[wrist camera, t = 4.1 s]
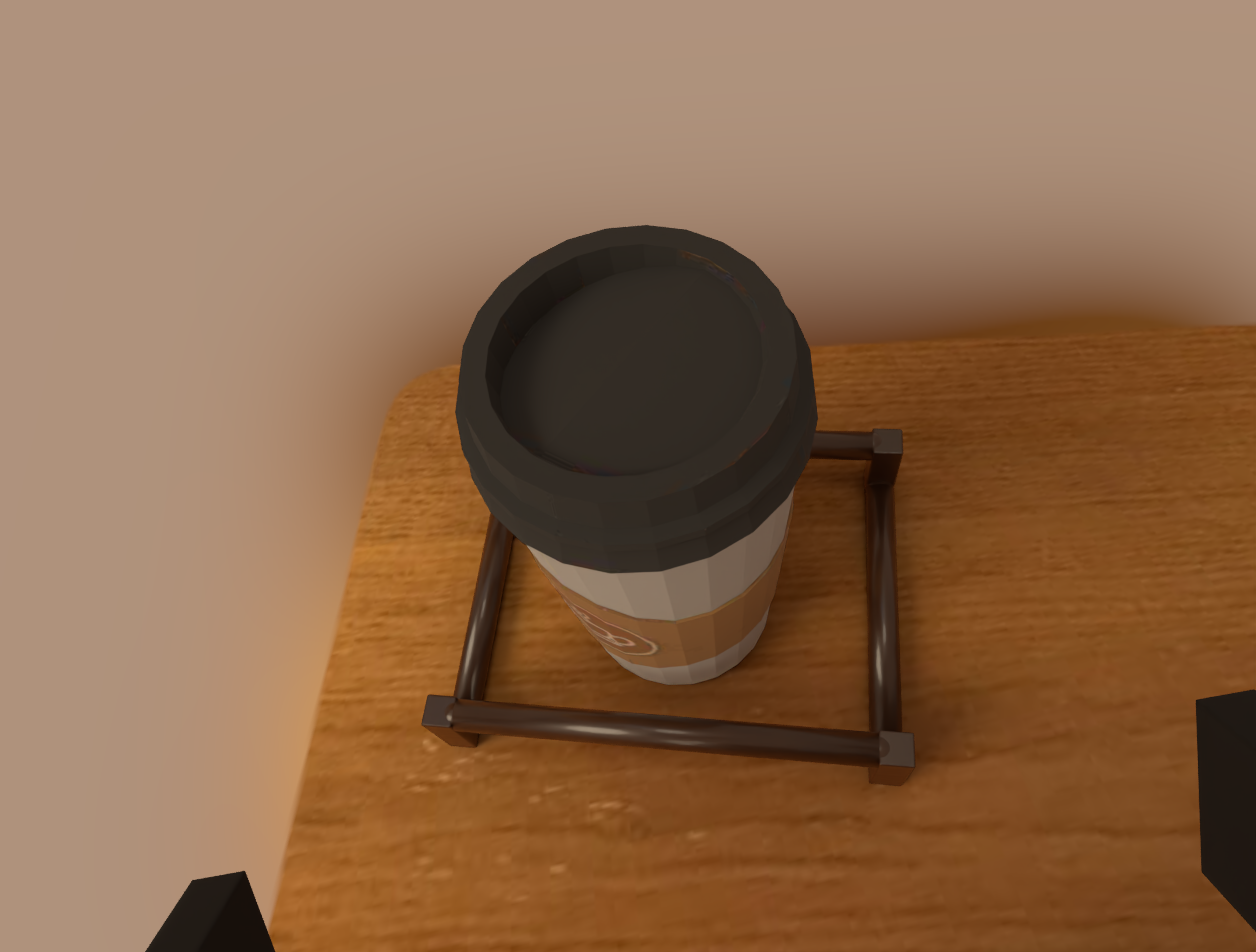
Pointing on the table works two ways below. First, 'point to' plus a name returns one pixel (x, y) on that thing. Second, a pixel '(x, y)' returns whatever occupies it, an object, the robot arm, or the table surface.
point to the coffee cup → (644, 438)
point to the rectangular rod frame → (875, 749)
